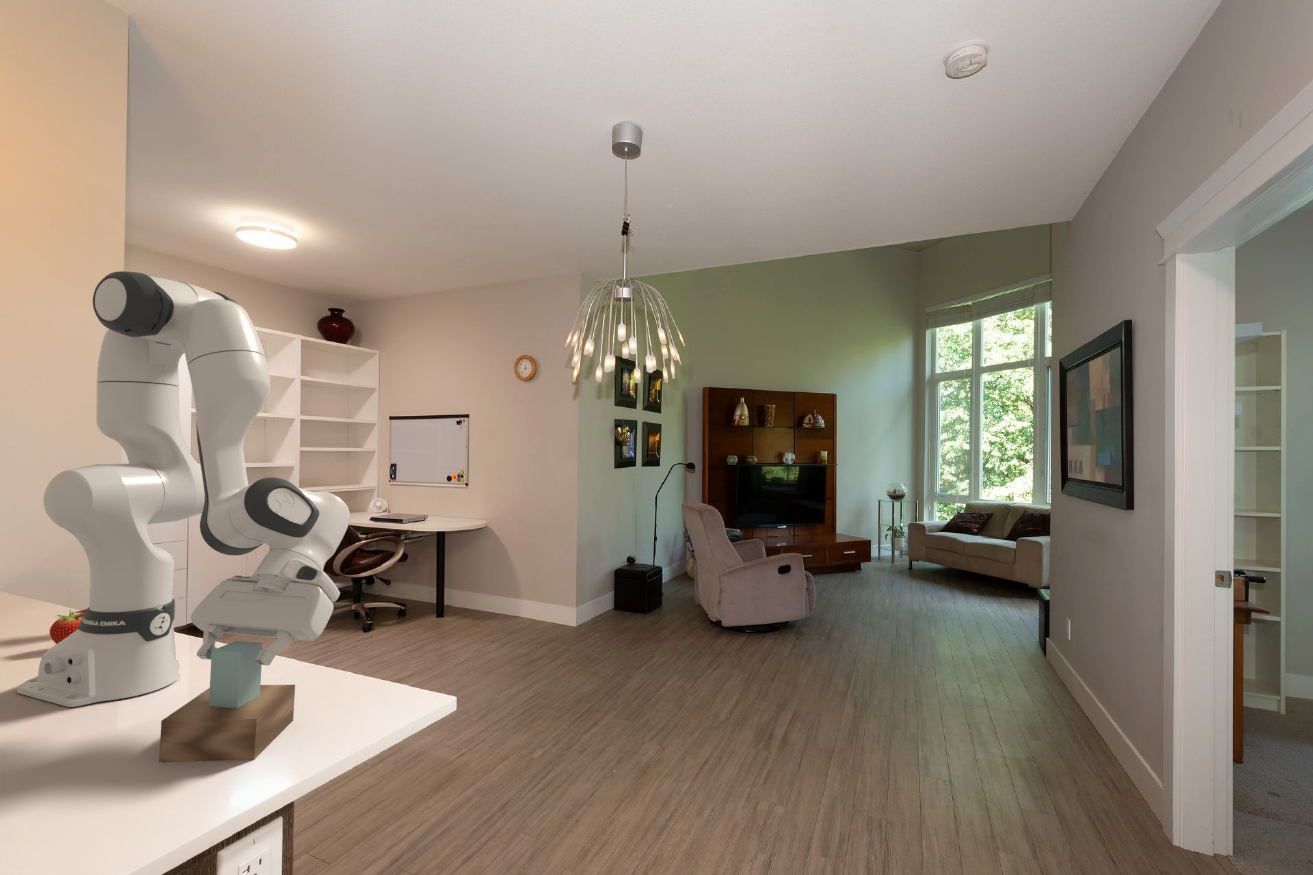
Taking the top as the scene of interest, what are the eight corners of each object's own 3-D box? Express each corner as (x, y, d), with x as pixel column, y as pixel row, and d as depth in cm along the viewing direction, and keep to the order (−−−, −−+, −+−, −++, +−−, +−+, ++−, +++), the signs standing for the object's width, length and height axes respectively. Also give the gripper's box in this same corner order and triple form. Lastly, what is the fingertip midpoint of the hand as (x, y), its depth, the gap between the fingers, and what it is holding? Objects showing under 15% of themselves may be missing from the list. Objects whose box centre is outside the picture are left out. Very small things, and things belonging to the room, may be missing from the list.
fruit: (67, 654, 118) (69, 613, 118) (41, 653, 118) (43, 612, 118) (93, 645, 123) (95, 606, 123) (68, 644, 123) (70, 605, 124)
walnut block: (158, 764, 82) (161, 720, 82) (210, 724, 94) (212, 685, 94) (254, 762, 84) (256, 718, 84) (293, 722, 96) (295, 684, 96)
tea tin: (208, 705, 87) (211, 650, 87) (233, 693, 91) (235, 640, 92) (236, 708, 87) (239, 652, 87) (259, 695, 91) (262, 642, 91)
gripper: (216, 564, 97) (155, 644, 87) (333, 573, 95) (284, 656, 85) (237, 585, 102) (181, 663, 92) (349, 594, 99) (304, 676, 89)
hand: (232, 660), depth 88 cm, fingers open, 8 cm apart
